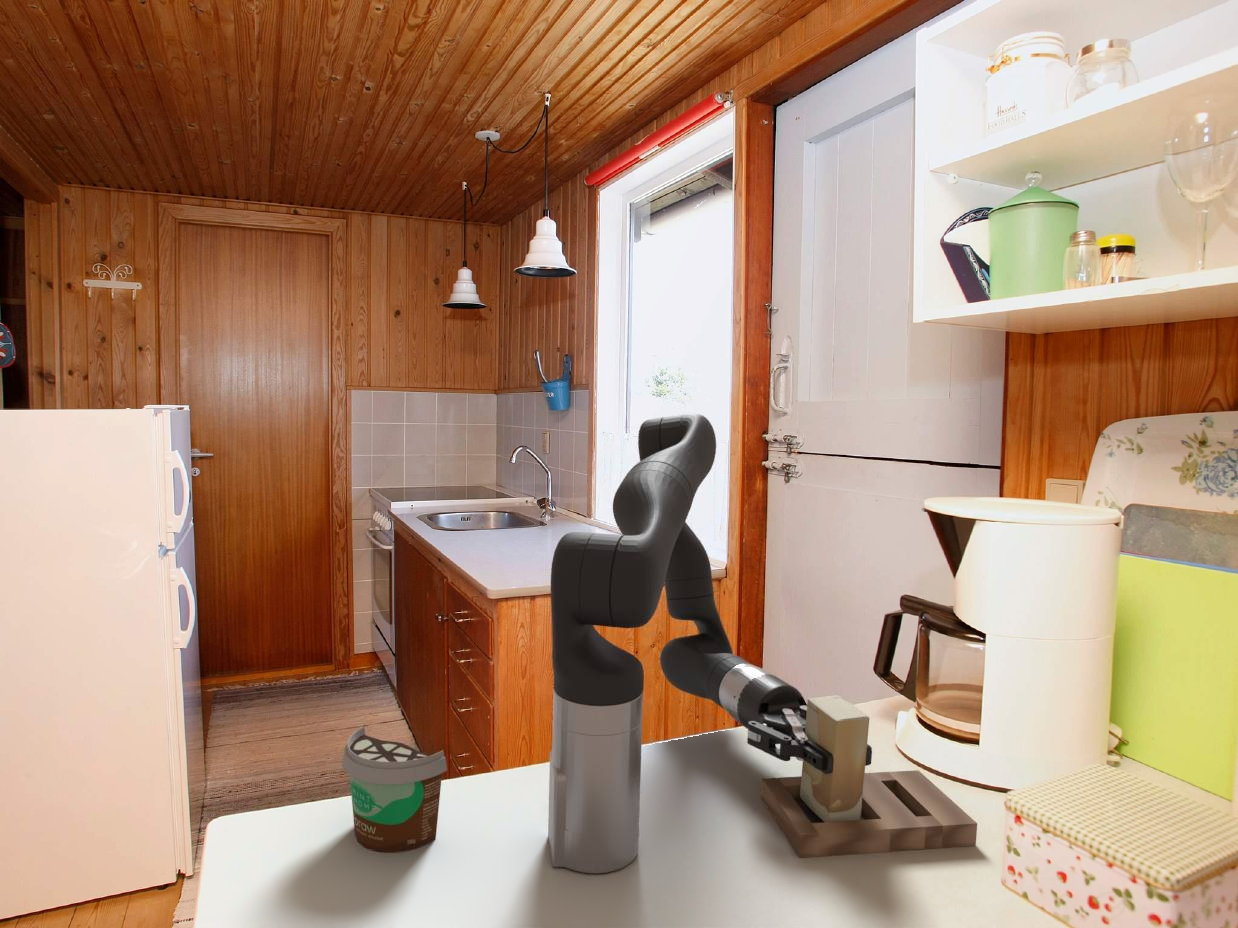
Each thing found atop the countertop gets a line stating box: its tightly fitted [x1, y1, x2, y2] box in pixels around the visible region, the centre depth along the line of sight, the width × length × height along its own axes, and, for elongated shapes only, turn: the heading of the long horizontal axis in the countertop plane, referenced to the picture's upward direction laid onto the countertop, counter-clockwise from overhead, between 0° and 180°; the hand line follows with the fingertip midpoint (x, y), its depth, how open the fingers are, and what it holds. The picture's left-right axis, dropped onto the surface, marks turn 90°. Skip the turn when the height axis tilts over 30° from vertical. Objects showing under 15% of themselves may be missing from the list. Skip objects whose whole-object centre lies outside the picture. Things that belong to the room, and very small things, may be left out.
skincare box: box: [800, 694, 870, 822], centre depth 89 cm, size 6×4×12 cm
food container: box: [341, 726, 448, 854], centre depth 83 cm, size 12×6×10 cm, turn 62°
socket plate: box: [760, 769, 978, 859], centre depth 90 cm, size 20×12×2 cm, turn 99°
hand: (849, 760), depth 86 cm, fingers closed on skincare box, 4 cm apart
